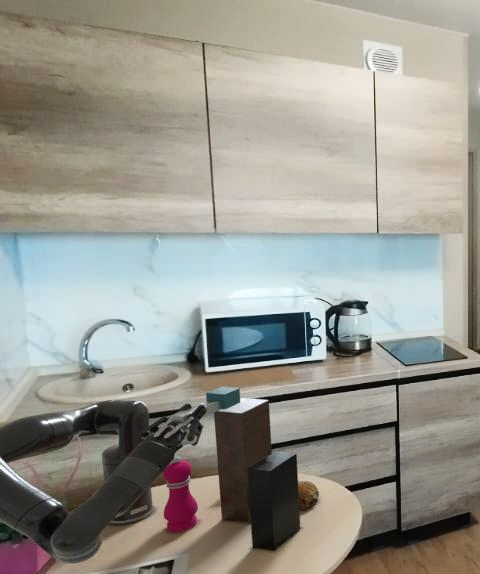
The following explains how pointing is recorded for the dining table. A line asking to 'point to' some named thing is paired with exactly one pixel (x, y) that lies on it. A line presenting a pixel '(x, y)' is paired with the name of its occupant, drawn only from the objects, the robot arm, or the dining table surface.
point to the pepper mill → (179, 497)
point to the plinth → (240, 453)
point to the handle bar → (211, 403)
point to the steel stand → (274, 500)
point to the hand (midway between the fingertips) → (196, 406)
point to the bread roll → (307, 494)
